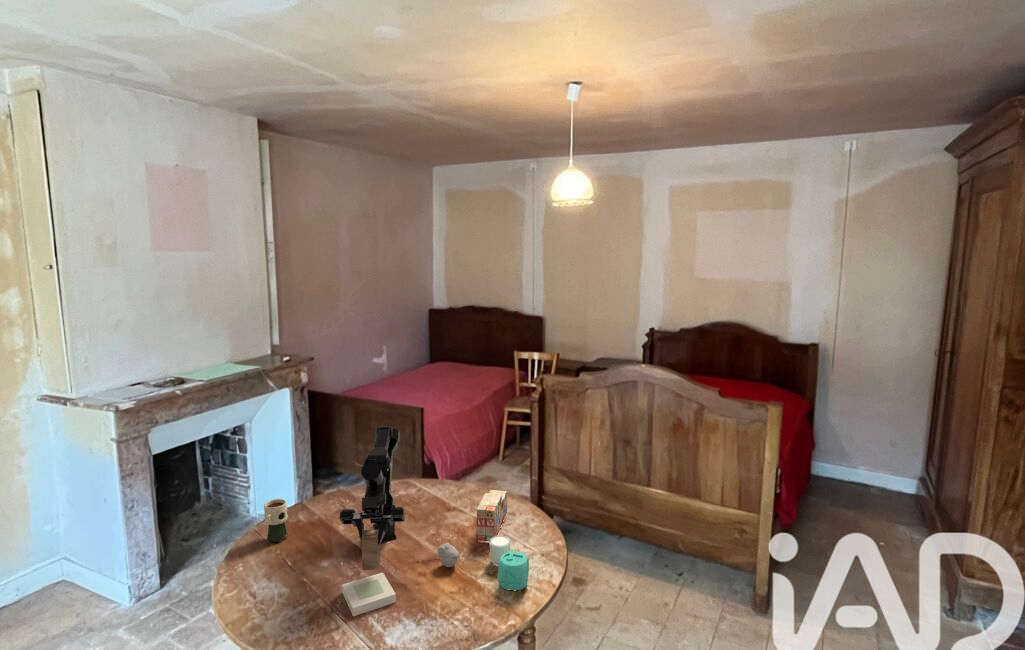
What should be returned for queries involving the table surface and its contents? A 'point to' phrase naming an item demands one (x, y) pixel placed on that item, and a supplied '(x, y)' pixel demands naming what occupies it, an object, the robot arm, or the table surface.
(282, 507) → the character mug
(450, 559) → the grey rock
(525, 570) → the teal lidded canister
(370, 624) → the table surface
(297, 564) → the table surface
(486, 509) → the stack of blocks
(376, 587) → the baseplate
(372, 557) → the walnut pillar
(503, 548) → the white cylinder
